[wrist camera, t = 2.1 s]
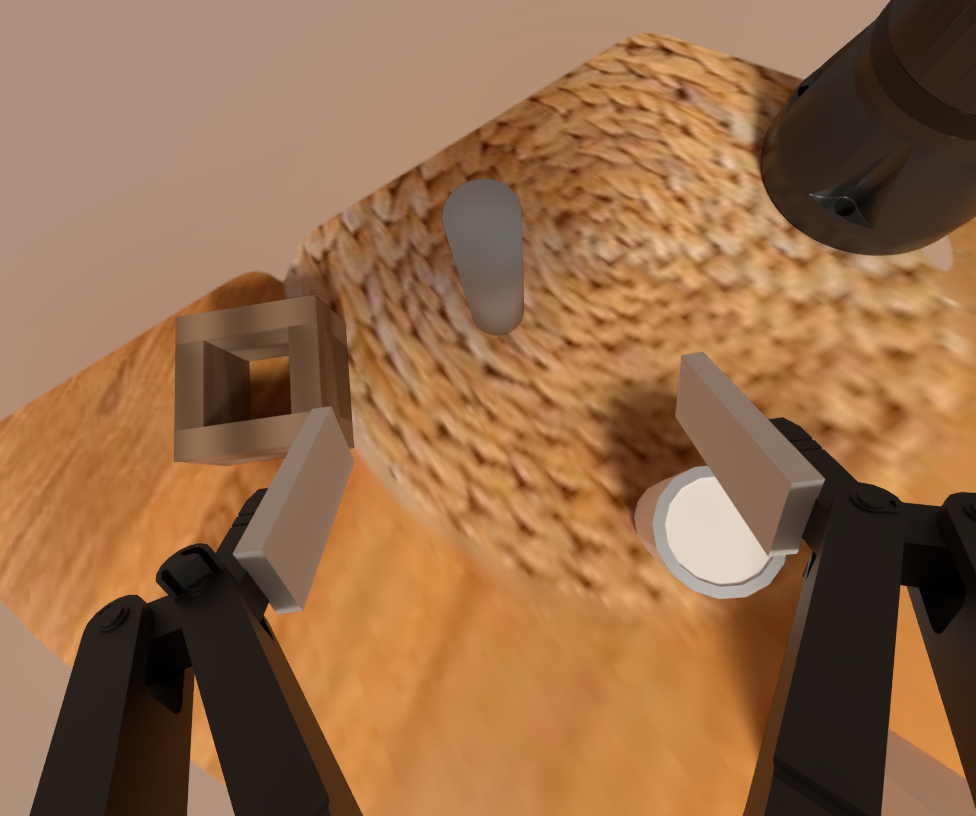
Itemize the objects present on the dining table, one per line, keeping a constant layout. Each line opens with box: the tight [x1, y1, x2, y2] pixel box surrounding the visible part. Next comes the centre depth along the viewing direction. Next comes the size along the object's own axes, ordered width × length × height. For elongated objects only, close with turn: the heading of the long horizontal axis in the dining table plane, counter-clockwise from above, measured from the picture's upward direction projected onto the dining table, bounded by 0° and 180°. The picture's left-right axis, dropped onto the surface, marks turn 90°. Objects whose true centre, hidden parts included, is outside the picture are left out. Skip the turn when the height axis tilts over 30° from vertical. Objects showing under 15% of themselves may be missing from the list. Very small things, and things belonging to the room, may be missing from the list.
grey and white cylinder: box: [634, 466, 786, 599], centre depth 26 cm, size 7×7×7 cm
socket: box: [174, 295, 354, 466], centre depth 32 cm, size 10×10×5 cm
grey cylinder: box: [442, 179, 524, 335], centre depth 28 cm, size 4×4×12 cm
